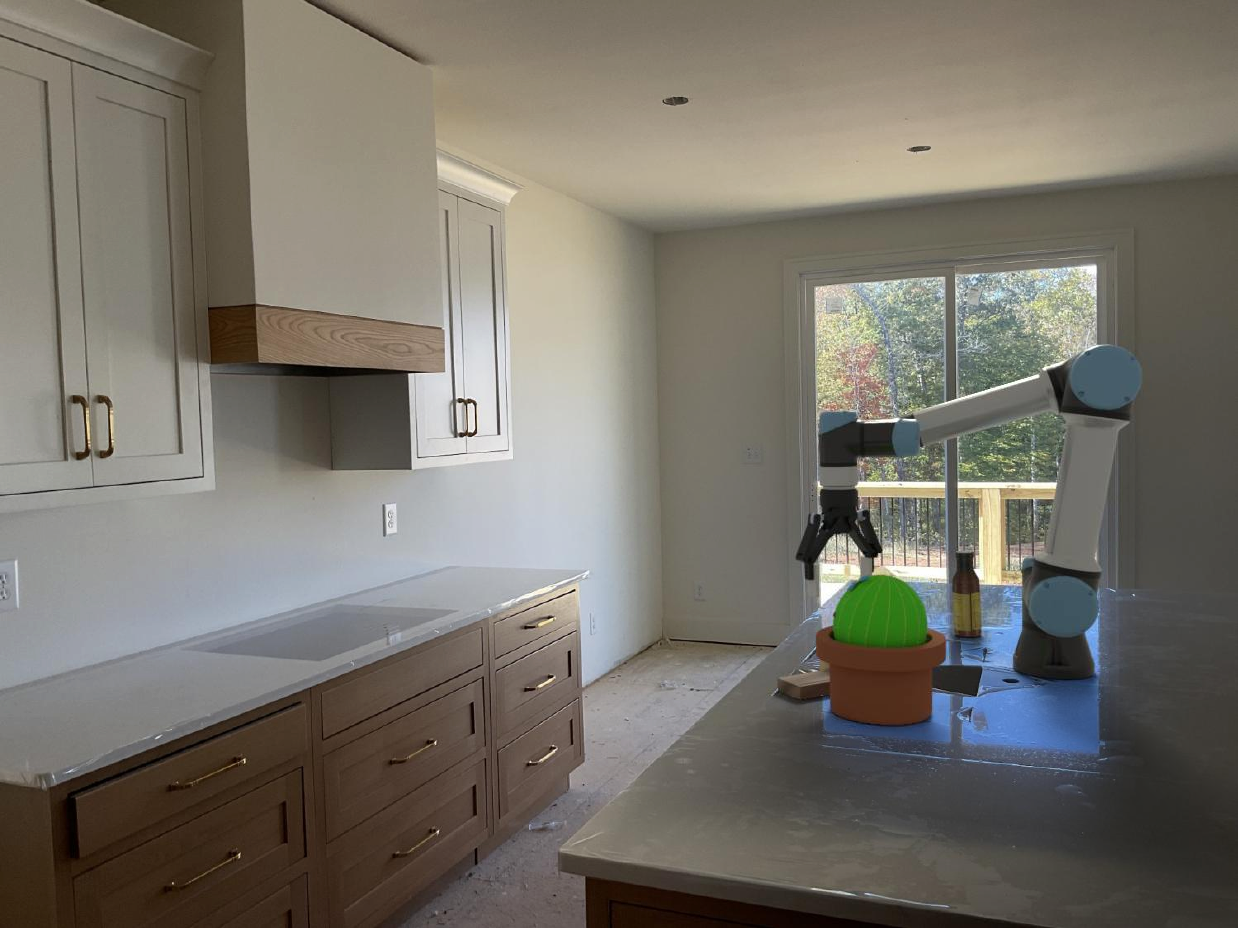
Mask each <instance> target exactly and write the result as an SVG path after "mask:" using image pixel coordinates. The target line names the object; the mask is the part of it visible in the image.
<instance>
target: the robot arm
mask: <svg viewBox="0 0 1238 928" xmlns="http://www.w3.org/2000/svg"><path fill="white" fill-rule="evenodd" d="M1142 383H1143V371H1142V366H1141V365H1140V362H1139V360H1138V359H1137V358H1136V356H1135V355H1134V354H1133V353H1132V352H1130V350H1127V348H1124V347H1121V346H1119V345H1114V344H1111V343H1107V344H1106V343H1105V344H1104V343H1103V344H1102V343H1099V344H1093V345H1091V346H1088V347H1087V348H1084V349H1083V350H1082V351H1080V352H1078V353H1076V354H1074V355H1072V356H1071V357H1068V358H1067V359H1065V360H1062V361H1060V362H1058V363H1055V364H1051V365H1049V366H1046V367H1043V368H1041V370H1040V372H1039V373H1038V374H1036V375H1033V376H1030V377H1027V378H1023V379H1019V380H1016V381H1014V382H1010V383H1006V384H1003V385H999V386H997V387H993V388H990V389H986V390H983V391H980V392H976V393H971V394H969V395H966V396H963V397H960V398H956V399H953V400H950V401H946V402H943V403H939V404H935V405H932V406H930V407H926V408H922V409H919V410H916V411H915V410H914V411H913V412H909V413H906V414H902V415H897V416H895V417H890V418H887V419H886V418H885V419H869V420H868V419H859V417H858V414H857V413H858V412H856V411H855V410H825V411H823V412H821V413H820V415H819V418H818V419H819V421H818V433H817V436H818V456H819V457H818V459H819V460H818V461H819V463H818V465H819V486H820V487H822V488H820V490H819V505H820V507H821V513H815V512H809V513H808V515H807V516H808V517H807V526H806V527H805V529H804V530H805V531H804V533H803V536H802V539H801V542H800V544H799V546H798V549H797V552H796V555H795V560H796V561H798V562H801V563H803V565H804V566H803V567H804V580H805V581H806V580H807V581H806V583H807V585H806V586H807V588H806V589H807V596H810V597H813V598H819V597H820V579H819V578H820V576H819V575H820V571H819V570H820V568H819V567H820V564H818V563H816V561H817V560H818V558H819V557H820V556H821V553H822V552H823V550H824V549H825V547H826V545H827V544H828V542H829V540H830V539H831V538H833V537H834V536H836V535H841V534H848V536H849V537H850V539H851V540H852V541H853V543H855V546H856V547H857V548H858V550H859V551H860V553H861V554H862V555H863V556H860V557H859V566H860V567H859V569H860V570H859V571H860V572H859V573H860V576H859V578H861V577H863V576H864V577H865V576H867V575H870V574H871V575H870V576H872V575H873V573H874V572H875V559H876V558H878V557H879V554H882V553H883V548H882V546H881V544H880V543H881V542H880V541H879V538H878V536H877V533H876V530H875V528H874V525H873V524H872V522H871V516H870V515H871V514H870V511H869V509H866V508H865V509H864V508H858V509H857V507H858V506H859V489H857V488H856V487H857V486H858V484H859V475H858V473H859V470H858V468H859V467H858V465H859V464H858V459H859V458H899V459H905V458H913V457H914V458H915V457H917V456H919V455H920V454H921V453H920V451H921V449H920V448H923V447H926V446H930V445H934V444H937V443H941V442H944V441H948V440H952V439H956V438H958V437H962V436H966V435H969V434H973V433H976V432H980V431H983V430H987V429H990V428H995V427H998V426H1001V425H1005V424H1009V423H1012V422H1015V421H1019V420H1022V419H1026V418H1030V417H1033V416H1038V415H1040V414H1044V413H1048V412H1051V413H1053V414H1055V415H1059V414H1060V415H1061V417H1062V418H1063V419H1064V421H1065V422H1066V424H1067V425H1066V432H1065V437H1064V440H1063V441H1064V443H1063V448H1062V452H1061V457H1060V458H1061V459H1060V464H1059V469H1058V473H1057V474H1058V475H1057V479H1056V486H1055V491H1054V496H1053V502H1052V503H1053V504H1052V509H1051V513H1050V520H1049V525H1048V530H1047V536H1046V542H1045V547H1044V549H1043V550H1042V551H1040V552H1039V553H1037V554H1036V555H1034V556H1026V557H1024V558H1023V560H1022V563H1021V565H1022V566H1021V568H1020V573H1021V632H1020V635H1019V638H1018V640H1017V643H1016V647H1015V650H1014V652H1013V654H1012V667H1013V669H1014V670H1016V671H1017V672H1019V673H1022V674H1025V675H1029V676H1032V677H1039V678H1043V679H1044V678H1045V679H1056V680H1079V679H1085V678H1086V679H1087V678H1091V677H1092V676H1095V673H1096V671H1095V670H1096V668H1095V664H1096V662H1095V659H1094V658H1093V655H1092V651H1091V648H1090V645H1089V642H1088V639H1087V636H1086V632H1087V631H1089V629H1090V628H1091V627H1092V626H1093V625H1094V624H1095V622H1096V620H1097V619H1098V615H1099V612H1100V601H1099V597H1098V593H1099V587H1100V582H1101V576H1102V571H1103V569H1102V567H1101V566H1100V564H1099V563H1098V561H1097V559H1096V553H1097V548H1098V543H1099V537H1100V531H1101V526H1102V523H1103V522H1102V521H1103V516H1104V511H1105V506H1106V505H1105V504H1106V499H1107V493H1108V490H1109V484H1110V478H1111V473H1112V468H1113V462H1114V458H1115V451H1116V447H1117V442H1118V441H1117V440H1118V437H1119V432H1120V430H1121V429H1123V428H1124V427H1126V426H1127V425H1129V424H1130V423H1131V417H1132V413H1133V412H1132V411H1133V408H1134V407H1133V405H1134V402H1135V398H1136V397H1137V395H1138V393H1139V392H1140V390H1141V388H1142ZM856 521H857V522H858V524H857V523H856ZM858 525H859V526H858Z"/></svg>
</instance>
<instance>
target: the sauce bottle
mask: <svg viewBox="0 0 1238 928" xmlns="http://www.w3.org/2000/svg"><path fill="white" fill-rule="evenodd" d="M974 557H975V552H974V551H973V550H969V549H968V550H965V549H963V550H962V549H960V550H957V551H955V558H956V568H955V569H956V571H955V573H954V574H953V577H952V590H951V591H952V613H953V614H952V618H953V628H954V629H953V630H954V634H955V635H956V636H959V637H962V638H978V637H980V636H981V635H982V628H983V623H982V622H983V621H982V619H983V618H982V601H981V589H980V588H981V587H980V577H979V576H978V574H977V573H976V571H975V567H974Z"/></svg>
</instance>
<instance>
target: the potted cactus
mask: <svg viewBox="0 0 1238 928" xmlns="http://www.w3.org/2000/svg"><path fill="white" fill-rule="evenodd" d="M882 573H883V574H882ZM870 575H871V574H870ZM870 575H867V576H865V577H864V576H863V577H861V578H860V577H859V578H858V579H857V580H854V581H853V582H852V583H851V584H850V585H849V586H848V587H847V588H846V589H845V590H846V591H845V592H844V593H843V592H841V594H842V596H841V597H839V600H838V603H837V604H836V608H835V611H833V614H832V617H833V621H832V625H828V626H825V627H824V628H821V629H819V630H818V631H817V632H816V634H815V654H816V655H815V656H816V657H817V658H818V659H820V660H822V661H824V662H826V663H829V664H830V695H829V706H830V707H829V708H830V710H831V712H832V713H834V715H836V716H838V717H840V718H843V719H845V720H848V719H849V720H848V721H852V720H853V722H856V721H857V723H861V722H862V723H861V724H867V723H872V724H871V725H875V724H883V725H882V726H905V725H904V724H908V725H913V724H912V723H914V724H917V723H921V722H923V721H925V720H927V719H928V718H929V717H930V716H931V715H932V713H933V668H936V667H938V666H941V665H942V664H943V663H945V661H946V659H947V638H946V636H945V635H944V634H943V633H941V632H940V631H938V630H934V629H932V628H928V617H931V614H928V612H927V611H926V607H925V604H924V602H923V601H922V600H923V595H921V596H920V595H919V593H918V592H917V590H918V591H919V590H920V589H918V587H917V588H916V590H915V589H914V588H913V587H912V586H910V585H909V584H908V583H907V582H905V581H904V578H902V579H900V578H898V577H896V575H895V574H894V575H895V576H893V573H890V575H888V574H885V572H881V571H880V574H872V576H870Z"/></svg>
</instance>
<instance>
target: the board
mask: <svg viewBox="0 0 1238 928" xmlns="http://www.w3.org/2000/svg"><path fill="white" fill-rule="evenodd" d="M779 691H780V693H782V694H784V695H787V696H789V695H790V696H789V697H791V696H793V697H792V698H794V697H795V699H796V698H798V699H797V700H799V699H800V700H799V701H802V699H804V700H807V699H806V698H809V699H813V698H812V697H814V698H817V697H816V696H820V697H822V696H821V695H825V696H830V669H827V670H821V671H820V670H816V671H809V672H806V673H799V674H794V675H788V676H781V677H777V692H779Z"/></svg>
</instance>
